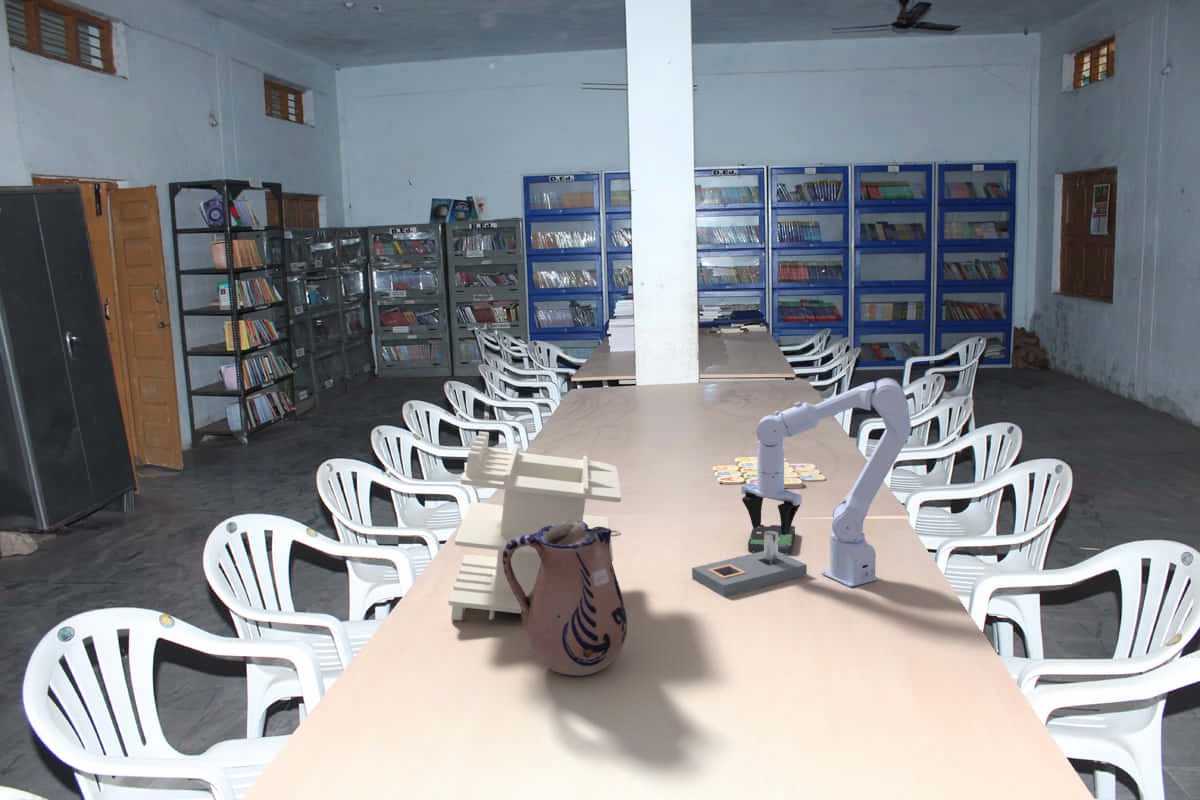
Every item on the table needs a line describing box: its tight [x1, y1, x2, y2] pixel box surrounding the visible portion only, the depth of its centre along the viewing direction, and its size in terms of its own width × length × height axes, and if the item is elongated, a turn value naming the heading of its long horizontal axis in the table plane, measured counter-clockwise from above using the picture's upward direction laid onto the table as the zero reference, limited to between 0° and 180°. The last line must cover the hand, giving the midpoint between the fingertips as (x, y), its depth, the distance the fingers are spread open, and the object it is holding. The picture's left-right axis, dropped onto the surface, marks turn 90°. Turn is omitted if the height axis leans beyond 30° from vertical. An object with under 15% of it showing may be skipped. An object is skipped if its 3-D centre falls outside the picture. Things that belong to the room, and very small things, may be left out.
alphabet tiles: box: [712, 456, 826, 489], centre depth 282 cm, size 33×33×2 cm
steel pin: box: [764, 531, 778, 566], centre depth 201 cm, size 3×3×9 cm
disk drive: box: [747, 524, 796, 555], centre depth 221 cm, size 10×3×15 cm
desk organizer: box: [448, 431, 622, 622], centre depth 189 cm, size 26×31×35 cm
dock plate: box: [691, 551, 808, 598], centre depth 199 cm, size 12×22×3 cm, turn 117°
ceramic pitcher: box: [502, 520, 628, 677], centre depth 159 cm, size 18×21×25 cm
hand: (770, 530), depth 200 cm, fingers open, 7 cm apart
